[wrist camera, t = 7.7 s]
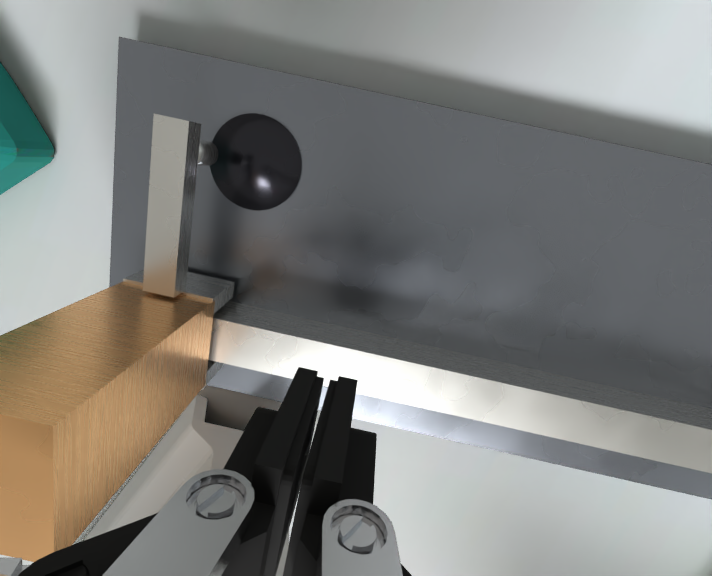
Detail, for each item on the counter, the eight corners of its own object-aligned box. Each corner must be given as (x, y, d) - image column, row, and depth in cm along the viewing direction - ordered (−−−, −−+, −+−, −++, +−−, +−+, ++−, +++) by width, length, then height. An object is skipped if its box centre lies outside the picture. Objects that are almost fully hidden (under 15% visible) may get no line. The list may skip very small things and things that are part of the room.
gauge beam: (962, 293, 14) (1216, 350, 10) (830, 491, 16) (986, 607, 12) (144, 114, 14) (40, 93, 10) (132, 334, 17) (44, 393, 13)
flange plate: (994, 230, 14) (1042, 235, 13) (811, 507, 18) (838, 529, 17) (136, 44, 15) (117, 36, 14) (121, 352, 18) (105, 363, 17)
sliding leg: (253, 134, 14) (52, 93, 6) (224, 363, 17) (53, 570, 8) (166, 116, 14) (-164, 45, 6) (149, 346, 17) (-96, 535, 8)
